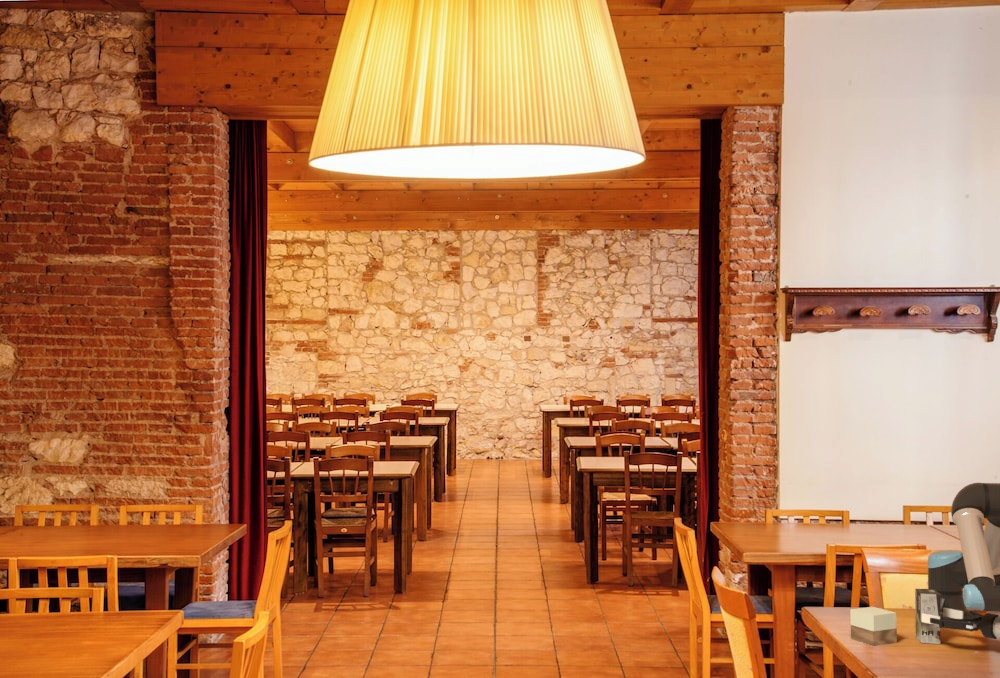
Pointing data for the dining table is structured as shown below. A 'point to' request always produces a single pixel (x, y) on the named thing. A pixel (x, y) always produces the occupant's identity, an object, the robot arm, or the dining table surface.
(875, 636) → the tower base
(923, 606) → the coffee box
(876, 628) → the tower top
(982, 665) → the dining table surface
